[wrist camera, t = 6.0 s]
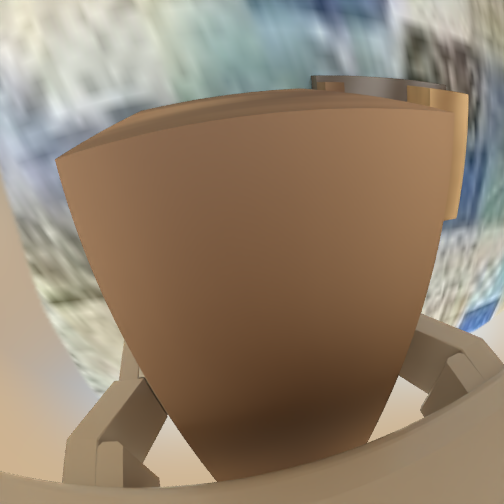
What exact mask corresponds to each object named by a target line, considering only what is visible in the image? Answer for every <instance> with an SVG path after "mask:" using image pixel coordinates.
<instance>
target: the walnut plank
mask: <svg viewBox="0 0 504 504" xmlns="http://www.w3.org/2000/svg"><path fill="white" fill-rule="evenodd" d="M453 136H454V113H453V112H450V111H446V110H442V109H437V108H433V107H429V106H424V105H420V104H415V103H410V102H405V101H399V100H394V99H388V98H382V97H376V96H369V95H362V94H354V93H345V92H336V91H325V90H313V89H284V90H271V91H259V92H249V93H240V94H232V95H225V96H217V97H211V98H204V99H198V100H192V101H187V102H181V103H176V104H171V105H166V106H161V107H157V108H152V109H148V110H143V111H140V112H138V113H136V114H134V115H132V116H130V117H128V118H126V119H124V120H122V121H120V122H118V123H116V124H115V125H113V126H111V127H109V128H107V129H105V130H103V131H102V132H100V133H98V134H96V135H94V136H93V137H91V138H89V139H88V140H86V141H84V142H82V143H81V144H79V145H77V146H76V147H74V148H72V149H71V150H69V151H68V152H66V153H64V154H63V155H61V156H60V157H58V158H57V159H55V161H56V165H57V169H58V173H59V176H60V180H61V183H62V186H63V190H64V193H65V196H66V200H67V203H68V206H69V209H70V212H71V215H72V218H73V221H74V224H75V226H76V229H77V232H78V235H79V238H80V240H81V243H82V246H83V248H84V251H85V253H86V256H87V258H88V261H89V263H90V266H91V268H92V271H93V273H94V276H95V278H96V280H97V283H98V285H99V287H100V289H101V292H102V294H103V296H104V298H105V301H106V303H107V305H108V307H109V309H110V311H111V313H112V315H113V318H114V320H115V322H116V324H117V326H118V328H119V330H120V332H121V334H122V336H123V338H124V339H125V341H126V343H127V345H128V347H129V349H130V351H131V353H132V355H133V356H134V358H135V360H136V362H137V364H138V365H139V367H140V369H141V371H142V372H143V374H144V376H145V378H146V379H147V381H148V383H149V384H150V386H151V388H152V389H153V391H154V393H155V394H156V396H157V398H158V399H159V401H160V402H161V404H162V406H163V407H164V409H165V410H166V412H167V413H168V415H169V416H170V418H171V419H172V421H173V422H174V424H175V425H176V427H177V428H178V430H179V431H180V433H181V434H182V436H183V437H184V439H185V440H186V441H187V443H188V444H189V446H190V447H191V448H192V449H193V451H194V452H195V454H196V455H197V456H198V458H199V459H200V461H201V462H202V463H203V464H204V466H205V467H206V468H207V470H208V471H209V472H210V473H211V475H212V476H213V477H214V479H215V480H216V481H217V482H221V481H228V480H234V479H240V478H246V477H251V476H256V475H261V474H266V473H271V472H275V471H279V470H284V469H288V468H292V467H295V466H299V465H303V464H306V463H310V462H313V461H317V460H320V459H323V458H327V457H330V456H333V455H336V454H339V453H342V452H345V451H347V450H350V449H353V448H356V447H358V446H361V445H364V444H366V443H367V442H368V440H369V438H370V436H371V434H372V432H373V430H374V428H375V426H376V424H377V422H378V420H379V418H380V416H381V414H382V412H383V410H384V408H385V405H386V403H387V401H388V399H389V396H390V394H391V392H392V390H393V387H394V385H395V383H396V380H397V378H398V375H399V373H400V370H401V368H402V365H403V363H404V360H405V357H406V355H407V352H408V349H409V347H410V344H411V341H412V338H413V335H414V332H415V329H416V326H417V323H418V320H419V317H420V314H421V311H422V307H423V304H424V301H425V297H426V294H427V290H428V287H429V283H430V279H431V275H432V271H433V267H434V263H435V259H436V254H437V250H438V245H439V241H440V236H441V231H442V225H443V220H444V214H445V208H446V202H447V195H448V188H449V180H450V171H451V162H452V150H453Z"/></svg>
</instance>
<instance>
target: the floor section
mask: <svg viewBox="0 0 504 504" xmlns="http://www.w3.org/2000/svg"><path fill="white" fill-rule="evenodd" d="M311 79H312V89H313V90H325V91H336V92H345V93H354V94H362V95H369V96H376V97H382V98H388V99H394V100H399V101H405V102H410V103H415V104H420V105H424V106H429V107H433V108H437V109H442V110H446V111H450V112H453V113H454V136H453V150H452V162H451V171H450V180H449V188H448V195H447V202H446V208H445V214H444V220H443V221H445V220H450V219H455V218H456V217H457V212H458V206H459V200H460V194H461V187H462V180H463V172H464V163H465V153H466V141H467V126H468V94H463V93H458V92H453V91H448V90H446V85H442V84H435V83H428V82H421V81H413V80H404V79H393V78H381V77H364V76H311Z"/></svg>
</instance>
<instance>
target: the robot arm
mask: <svg viewBox="0 0 504 504" xmlns="http://www.w3.org/2000/svg"><path fill="white" fill-rule="evenodd" d="M399 376H401V377H402V378H404V379H405V380H407V381H409V382H410V383H412V384H413V385H415V386H417V387H418V388H420V389H421V390H423V391H425V392H426V393H428V396H427V398H426V400H425V401H424V403H423V405H422V406H421V409H420V411H421V413H422V414H423V416H424V418H422V419H420V420H419V421H417V422H414V423H412V424H410V425H408V426H406V427H404V428H402V429H400V430H397V431H395V432H393V433H391V434H388V435H386V436H384V437H381V438H379V439H376V440H374V441H371V442H369V443H366V444H364V445H361V446H358V447H356V448H353V449H350V450H347V451H345V452H342V453H339V454H336V455H333V456H330V457H327V458H323V459H320V460H317V461H313V462H310V463H306V464H303V465H299V466H295V467H292V468H288V469H284V470H279V471H275V472H271V473H266V474H261V475H256V476H251V477H246V478H240V479H234V480H228V481H221V482H214V483H205V484H196V485H186V486H172V487H160V483H159V482H160V481H159V477H157V476H156V475H155V474H154V473H153V472H152V471H150V470H149V469H148V468H147V467H146V466H145V465H143V464H142V463H143V461H144V460H145V458H146V456H147V454H148V452H149V450H150V448H151V447H152V445H153V443H154V441H155V439H156V437H157V435H158V434H159V431H160V430H161V428H162V426H163V424H164V422H165V420H166V418H167V415H168V413H167V412H166V410H165V409H164V407H163V406H162V404H161V402H160V401H159V399H158V398H157V396H156V394H155V393H154V391H153V389H152V388H151V386H150V384H149V383H148V381H147V379H146V378H145V376H144V374H143V372H142V371H141V369H140V367H139V365H138V364H137V362H136V360H135V358H134V356H133V355H132V353H131V351H130V349H129V347H128V345H127V343H126V341H125V340H124V347H123V354H122V361H121V369H120V377H119V381H114V382H113V383H112V385H111V386H110V387H109V388H108V389H107V391H106V392H105V393H104V394H103V396H102V397H101V398H100V399H99V400H98V402H97V403H96V404H95V405H94V407H93V408H92V409H91V410H90V411H89V413H88V414H87V415H86V416H85V418H84V419H83V420H82V421H81V423H80V424H79V425H78V426H77V428H76V429H75V430H74V431H73V433H72V434H71V435H70V436H69V438H68V439H67V444H66V450H65V459H64V468H63V478H62V483H59V482H52V481H45V480H39V479H34V478H29V477H24V476H19V475H15V474H10V473H6V472H2V471H0V504H504V364H503V363H502V362H501V360H500V359H499V358H498V357H497V355H496V354H495V353H494V352H493V351H492V349H491V348H490V347H489V346H488V345H487V343H486V342H485V341H484V340H483V339H482V338H480V337H477V336H475V335H472V334H470V333H468V332H465V331H463V330H460V329H458V328H455V327H453V326H450V325H448V324H446V323H443V322H441V321H438V320H436V319H433V318H431V317H428V316H426V315H424V314H420V317H419V320H418V323H417V326H416V329H415V332H414V335H413V338H412V341H411V344H410V347H409V349H408V352H407V355H406V357H405V360H404V363H403V365H402V368H401V370H400V373H399Z"/></svg>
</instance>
